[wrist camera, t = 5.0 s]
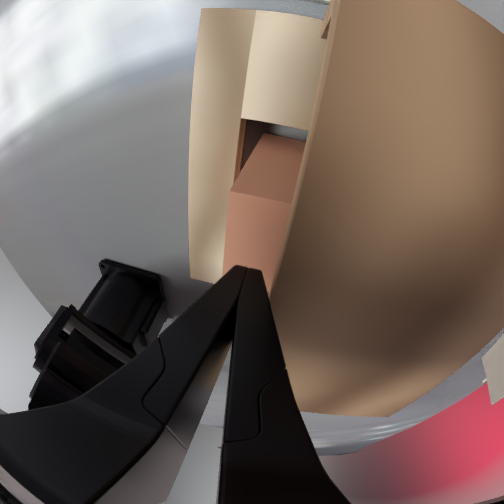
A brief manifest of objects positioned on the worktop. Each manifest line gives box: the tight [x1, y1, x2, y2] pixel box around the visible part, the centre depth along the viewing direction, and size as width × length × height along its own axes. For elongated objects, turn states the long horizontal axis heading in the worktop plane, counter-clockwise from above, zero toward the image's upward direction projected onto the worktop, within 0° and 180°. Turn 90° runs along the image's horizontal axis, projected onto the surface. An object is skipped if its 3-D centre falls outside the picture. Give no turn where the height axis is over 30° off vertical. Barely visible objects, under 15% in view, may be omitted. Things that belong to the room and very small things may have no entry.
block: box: [222, 133, 306, 292], centre depth 12 cm, size 4×4×7 cm
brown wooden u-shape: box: [267, 0, 504, 417], centre depth 10 cm, size 9×17×7 cm, turn 172°
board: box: [188, 8, 327, 284], centre depth 14 cm, size 16×17×2 cm
